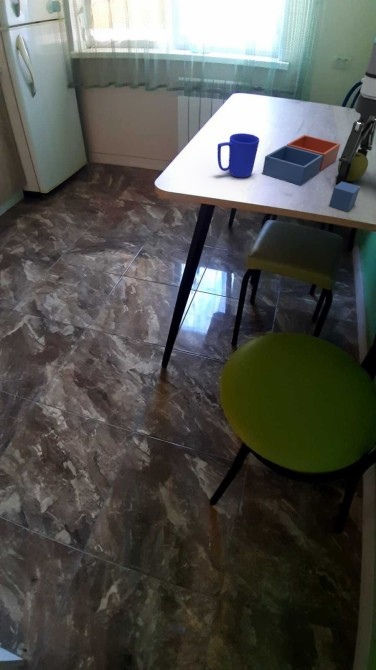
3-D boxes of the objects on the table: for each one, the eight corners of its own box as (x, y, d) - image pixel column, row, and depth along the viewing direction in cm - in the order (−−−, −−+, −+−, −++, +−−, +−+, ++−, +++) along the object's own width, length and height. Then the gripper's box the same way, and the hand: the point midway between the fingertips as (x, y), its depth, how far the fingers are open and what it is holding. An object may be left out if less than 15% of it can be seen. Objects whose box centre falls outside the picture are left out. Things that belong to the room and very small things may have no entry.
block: (354, 205, 108) (360, 186, 104) (347, 211, 105) (353, 193, 101) (336, 199, 110) (341, 181, 106) (328, 206, 107) (334, 187, 103)
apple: (366, 185, 118) (375, 159, 113) (339, 184, 117) (346, 159, 112) (357, 174, 123) (364, 150, 118) (331, 174, 123) (338, 149, 118)
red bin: (335, 160, 131) (340, 143, 128) (320, 171, 124) (324, 154, 120) (300, 151, 136) (304, 134, 133) (283, 161, 129) (286, 144, 125)
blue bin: (318, 172, 123) (323, 155, 120) (300, 185, 116) (304, 167, 112) (281, 162, 128) (285, 145, 125) (262, 173, 121) (265, 156, 117)
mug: (209, 171, 120) (212, 135, 114) (245, 167, 124) (250, 132, 117) (221, 183, 115) (225, 145, 108) (259, 177, 119) (265, 141, 112)
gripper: (375, 85, 114) (350, 163, 129) (342, 102, 100) (319, 188, 114) (402, 90, 111) (374, 170, 126) (372, 108, 96) (345, 196, 111)
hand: (348, 178), depth 120 cm, fingers open, 12 cm apart
